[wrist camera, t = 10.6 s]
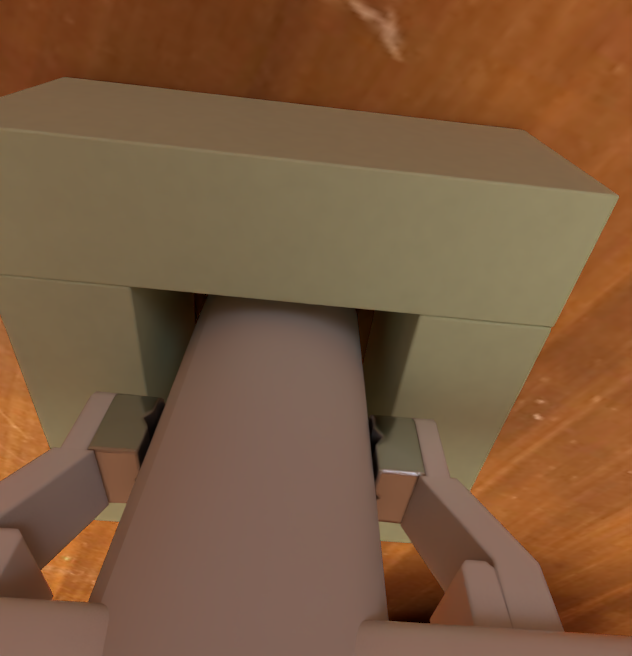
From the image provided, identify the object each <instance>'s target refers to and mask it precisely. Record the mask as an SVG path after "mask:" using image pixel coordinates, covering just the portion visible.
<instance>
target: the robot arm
mask: <svg viewBox="0 0 632 656" xmlns="http://www.w3.org/2000/svg"><path fill="white" fill-rule="evenodd" d="M164 406H165V401H164V399H163V398H159V397H150V396H140V395H131V394H122V393H109V392H100V391H96V392H95V393H94V394H92V395H91V396H90V398H89V399H88V401H87V403H86V405H85V406H84V408H83V410H82V411H81V413H80V415H79V417H78V418H77V420H76V422H75V423H74V425H73V427H72V428H71V430H70V432H69V434H68V435H67V437H66V439H65V440H64V442H63V444H62V446H61V447H60V448H57V447H53V448H52V449H50V450H48V451H47V452H45V453H44V454H42V455H41V456H39V457H38V458H36V459H34V460H33V461H31V462H30V463H28V464H27V465H25V466H23V467H22V468H20V469H19V470H17V471H16V472H14V473H13V474H11V475H9V476H8V477H6V478H5V479H3V480H2V481H0V656H102V653H103V648H104V643H105V637H106V632H107V627H108V622H109V610H108V608H107V606H106V605H104V604H102V603H92V602H76V601H59V600H52V598H53V594H52V592H51V589H50V587H49V586H48V584H47V582H46V580H45V578H44V576H43V574H42V572H41V569H42V568H43V567H44V566H46V565H47V564H48V563H49V562H50V561H51V560H52V559H53V558H54V557H55V556H56V555H57V554H58V553H59V552H60V551H61V550H62V549H63V548H64V547H65V546H67V545H68V544H69V543H70V542H71V541H72V540H73V539H74V538H75V537H76V536H77V535H78V534H79V533H80V532H81V531H82V530H83V529H84V528H85V527H86V526H88V525H89V524H90V523H91V522H92V521H93V520H94V519H95V518H96V517H97V516H98V515H99V514H100V513H101V512H102V511H103V510H104V509H105V508H106V507H107V506H109V503H127V501H128V499H129V496H130V494H131V491H132V488H133V486H134V483H135V481H136V478H137V476H138V473H139V470H140V468H141V465H142V463H143V460H144V458H145V455H146V453H147V450H148V447H149V445H150V442H151V440H152V437H153V434H154V432H155V429H156V427H157V424H158V422H159V419H160V416H161V414H162V411H163V409H164ZM368 424H369V434H370V443H371V453H372V463H373V473H374V483H375V492H376V502H377V512H378V521H379V522H389V523H399V524H401V525H400V526H401V527H402V529H403V530H404V532H405V533H406V535H407V536H408V538H409V539H410V541H411V542H412V544H413V545H414V547H415V548H416V550H417V551H418V553H419V554H420V556H421V557H422V559H423V560H424V562H425V563H426V565H427V566H428V568H429V569H430V571H431V572H432V574H433V575H434V577H435V578H436V580H437V581H438V583H439V584H440V586H441V587H442V589H443V590H444V592H445V594H444V596H443V598H442V599H441V601H440V603H439V604H438V606H437V608H436V609H435V611H434V613H433V614H432V616H431V618H430V624H429V623H413V622H397V621H381V620H364V621H363V622H361V624H360V626H359V627H358V632H357V639H356V645H355V650H354V655H353V656H632V636H623V635H607V634H591V633H574V632H564V629H563V626H562V624H561V621H560V618H559V616H558V613H557V610H556V607H555V605H554V602H553V599H552V597H551V594H550V591H549V589H548V586H547V583H546V581H545V578H544V575H543V573H542V570H541V567H540V565H539V563H538V562H537V561H536V560H535V559H534V558H533V557H532V556H531V555H530V554H529V553H528V551H527V550H526V549H525V548H524V547H523V546H522V545H521V544H520V543H519V542H518V541H517V540H516V539H515V538H514V537H513V536H512V535H511V534H510V533H509V532H508V531H507V530H506V529H505V528H504V527H503V526H502V525H501V524H500V522H499V521H498V520H497V519H496V518H495V517H494V516H493V515H492V514H491V513H490V512H489V511H488V510H487V509H486V508H485V507H484V506H483V505H482V504H481V503H480V502H479V501H478V500H477V499H476V498H475V497H474V496H473V495H472V494H471V492H470V491H469V490H468V489H467V488H466V487H465V486H464V485H463V484H462V483H461V482H460V481H459V480H458V479H457V478H451V477H450V473H449V470H448V466H447V462H446V458H445V455H444V451H443V447H442V443H441V439H440V436H439V432H438V428H437V424H436V422H435V421H434V420H433V419H421V418H410V417H396V416H382V415H370V417H369V419H368Z"/></svg>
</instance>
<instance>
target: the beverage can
mask: <svg viewBox="0 0 632 656" xmlns="http://www.w3.org/2000/svg"><path fill="white" fill-rule="evenodd" d="M88 602H92V603H102V604H104V605H106V606H107V608H108V610H109V622H108V627H107V632H106V637H105V643H104V648H103V653H102V656H353V655H354V650H355V645H356V639H357V632H358V627H359V626H360V624H361V622H363V621H364V620H381V621H389V620H388V610H387V600H386V590H385V580H384V571H383V561H382V551H381V541H380V532H379V522H378V512H377V502H376V492H375V483H374V473H373V463H372V453H371V443H370V434H369V424H368V414H367V404H366V395H365V385H364V375H363V365H362V355H361V346H360V336H359V326H358V316H357V312H356V310H355V308H346V307H336V306H326V305H315V304H305V303H294V302H284V301H273V300H263V299H253V298H242V297H232V296H221V295H211V294H208V296H207V299H206V301H205V303H204V305H203V308H202V310H201V313H200V315H199V318H198V320H197V323H196V326H195V328H194V331H193V333H192V336H191V339H190V341H189V344H188V346H187V349H186V352H185V354H184V357H183V359H182V362H181V364H180V367H179V370H178V372H177V375H176V377H175V380H174V383H173V385H172V388H171V390H170V393H169V396H168V398H167V401H166V403H165V406H164V409H163V411H162V414H161V416H160V419H159V422H158V424H157V427H156V429H155V432H154V434H153V437H152V440H151V442H150V445H149V447H148V450H147V453H146V455H145V458H144V460H143V463H142V465H141V468H140V470H139V473H138V476H137V478H136V481H135V483H134V486H133V488H132V491H131V494H130V496H129V499H128V501H127V504H126V506H125V509H124V512H123V514H122V517H121V519H120V522H119V524H118V527H117V530H116V532H115V535H114V537H113V540H112V542H111V545H110V548H109V550H108V553H107V555H106V558H105V560H104V563H103V565H102V568H101V571H100V573H99V576H98V578H97V581H96V583H95V586H94V588H93V591H92V593H91V596H90V599H89V601H88Z"/></svg>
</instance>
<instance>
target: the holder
mask: <svg viewBox="0 0 632 656" xmlns="http://www.w3.org/2000/svg"><path fill="white" fill-rule="evenodd" d="M618 199H619V195H617V194H616V193H614V192H613V191H611V190H610V189H609V188H607V187H606V186H604V185H603V184H601V183H600V182H598V181H597V180H596V179H594V178H593V177H591V176H590V175H588V174H587V173H585V172H584V171H582V170H581V169H580V168H578V167H577V166H575V165H574V164H572V163H571V162H569V161H568V160H567V159H565V158H564V157H562V156H561V155H559V154H558V153H556V152H555V151H553V150H552V149H551V148H549V147H548V146H546V145H545V144H543V143H542V142H540V141H539V140H538V139H536V138H535V137H533V136H532V135H530V134H529V133H527V132H526V131H524V130H520V129H511V128H503V127H494V126H485V125H477V124H468V123H459V122H451V121H442V120H433V119H425V118H416V117H407V116H399V115H390V114H382V113H373V112H364V111H356V110H347V109H338V108H330V107H321V106H312V105H304V104H295V103H286V102H278V101H269V100H260V99H252V98H243V97H234V96H226V95H217V94H208V93H200V92H191V91H182V90H174V89H165V88H156V87H148V86H139V85H130V84H122V83H113V82H104V81H96V80H87V79H78V78H70V77H63V78H60V79H56V80H53V81H50V82H47V83H44V84H41V85H37V86H34V87H31V88H28V89H25V90H22V91H18V92H15V93H12V94H9V95H6V96H3V97H0V315H1V318H2V320H3V323H4V326H5V328H6V331H7V334H8V336H9V339H10V342H11V345H12V347H13V350H14V353H15V355H16V358H17V361H18V363H19V366H20V369H21V372H22V374H23V377H24V380H25V382H26V385H27V388H28V390H29V393H30V396H31V398H32V401H33V404H34V407H35V409H36V412H37V415H38V417H39V420H40V423H41V425H42V428H43V431H44V434H45V436H46V439H47V442H48V444H49V447H50V449H52V448H53V447H57V448H60V447H61V446H62V444H63V442H64V440H65V439H66V437H67V435H68V434H69V432H70V430H71V428H72V427H73V425H74V423H75V422H76V420H77V418H78V417H79V415H80V413H81V411H82V410H83V408H84V406H85V405H86V403H87V401H88V399H89V398H90V396H91V395H92V394H94V393H95V392H96V391H100V392H109V393H122V394H131V395H140V396H150V397H159V398H163V399H164V401H165V403H166V401H167V398H168V396H169V393H170V390H171V388H172V385H173V383H174V380H175V377H176V375H177V372H178V370H179V367H180V364H181V362H182V359H183V357H184V354H185V352H186V349H187V346H188V344H189V341H190V339H191V336H192V333H193V331H194V328H195V326H196V323H195V308H194V293H201V294H211V295H221V296H232V297H242V298H253V299H263V300H273V301H284V302H294V303H305V304H315V305H326V306H336V307H346V308H357V309H367V310H374V315H373V320H372V324H371V329H370V334H369V338H368V343H367V348H366V352H365V357H364V362H363V375H364V385H365V395H366V404H367V414H368V419H369V417H370V415H382V416H396V417H410V418H421V419H433V420H434V421H435V422H436V424H437V428H438V432H439V436H440V439H441V443H442V447H443V451H444V455H445V458H446V462H447V466H448V470H449V473H450V477H451V478H457V479H458V480H459V481H460V482H461V483H462V484H463V485H464V486H465V487H466V488H467V489H468V490H469V491H470V490H471V488H472V486H473V484H474V482H475V480H476V478H477V476H478V474H479V472H480V470H481V468H482V466H483V464H484V462H485V460H486V458H487V456H488V454H489V452H490V450H491V448H492V446H493V444H494V442H495V440H496V438H497V436H498V434H499V432H500V430H501V428H502V426H503V424H504V423H505V421H506V419H507V417H508V415H509V413H510V411H511V409H512V407H513V405H514V403H515V401H516V399H517V397H518V395H519V393H520V391H521V389H522V387H523V385H524V383H525V381H526V379H527V377H528V375H529V373H530V371H531V369H532V367H533V365H534V363H535V361H536V359H537V357H538V355H539V353H540V351H541V349H542V347H543V345H544V343H545V341H546V339H547V337H548V335H549V333H550V331H551V327H553V326H554V325H555V323H556V321H557V319H558V317H559V315H560V313H561V311H562V309H563V307H564V305H565V303H566V301H567V299H568V297H569V295H570V293H571V291H572V289H573V287H574V285H575V284H576V282H577V280H578V278H579V276H580V274H581V272H582V270H583V268H584V266H585V264H586V262H587V260H588V258H589V256H590V254H591V252H592V250H593V248H594V246H595V244H596V242H597V240H598V238H599V236H600V234H601V232H602V230H603V228H604V226H605V224H606V222H607V220H608V218H609V216H610V214H611V212H612V210H613V208H614V206H615V204H616V203H617V201H618ZM126 504H127V503H109V506H107V507H106V508H105V509H104V510H103V511H102V512H101V513H100V514H99V515H98V516H97V517H96V518H95V519H94V520H102V521H115V522H120V519H121V517H122V514H123V512H124V509H125V506H126ZM378 522H379V521H378ZM400 525H401V524H399V523H389V522H379V532H380V541H389V542H403V543H412V542H411V541H410V539H409V538H408V536H407V535H406V533H405V532H404V530H403V529H402V527H401V526H400Z"/></svg>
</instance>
